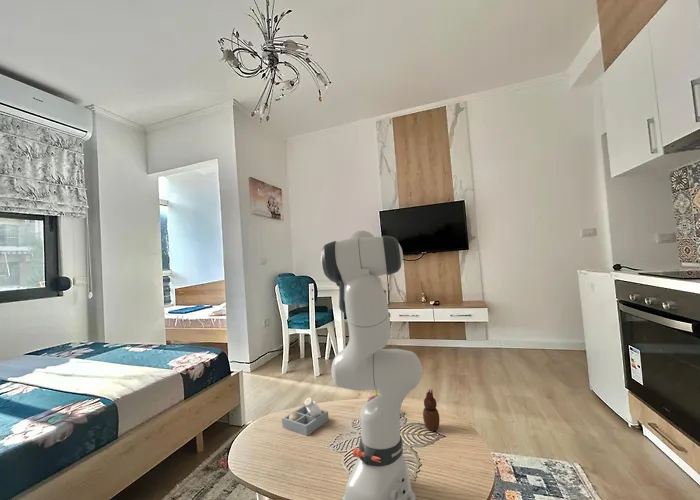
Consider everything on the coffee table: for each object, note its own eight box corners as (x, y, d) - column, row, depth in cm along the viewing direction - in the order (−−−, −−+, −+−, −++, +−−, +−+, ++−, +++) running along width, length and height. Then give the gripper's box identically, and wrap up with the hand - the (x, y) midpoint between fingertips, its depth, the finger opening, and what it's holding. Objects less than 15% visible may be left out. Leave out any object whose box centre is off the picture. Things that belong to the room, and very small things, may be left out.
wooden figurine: (442, 432, 117) (438, 391, 117) (426, 433, 117) (423, 392, 117) (437, 423, 124) (434, 384, 124) (422, 424, 124) (419, 385, 124)
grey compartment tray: (306, 435, 121) (306, 426, 121) (282, 427, 129) (282, 418, 129) (328, 420, 132) (328, 411, 132) (305, 413, 139) (304, 405, 140)
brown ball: (295, 428, 126) (294, 416, 126) (286, 425, 129) (286, 413, 129) (303, 422, 130) (302, 411, 130) (295, 420, 133) (294, 408, 133)
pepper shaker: (314, 421, 130) (305, 408, 125) (311, 414, 133) (302, 400, 129) (323, 415, 131) (313, 401, 126) (320, 408, 134) (310, 394, 130)
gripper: (368, 321, 119) (370, 358, 119) (392, 312, 136) (394, 345, 136) (353, 320, 123) (356, 357, 122) (379, 312, 140) (381, 344, 139)
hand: (376, 350), depth 129 cm, fingers open, 8 cm apart
